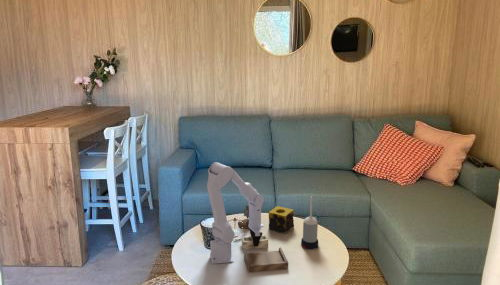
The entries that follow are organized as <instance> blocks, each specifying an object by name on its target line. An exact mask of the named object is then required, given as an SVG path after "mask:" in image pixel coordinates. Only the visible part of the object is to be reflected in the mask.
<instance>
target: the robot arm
mask: <svg viewBox="0 0 500 285" xmlns="http://www.w3.org/2000/svg"><path fill="white" fill-rule="evenodd" d="M207 172H208V177H207V178H208V179H207V182H206V184H207V185H206V188H207V194H208V197H209V202H210V207H211V211H212V217H213V220H214V221H213V222H212V223H211V227H212V228H211V234H212V236H214V239H213V240H210V243H209V244H210V254H209V255H210V260H211V264H213V265H215V264H225V263H233V262H234V258H233V253H232V242H233V240H234V239H235V231H234V229H233V228H232V225H231V224H230V223H229V221H228V220H227V214H226V208H225V204H224V203H225V202H224V199H223V195H222V194H223V193H222V188H223V187H224V186H226V185H227V184H228V182H230V181H231V182H232V183H233V184H235V186H237V188H238V191H239V193H240V194H241V195H242V196H243V197H244V198H245V200H246V202H248V203H249V205H248V206H249V218H248V219H249V226H248V228H249V229H248V230H249V234H250V236H252V239H253V245H254V246H258V245H259V241H260V238H261V236H262V235H263V232H262V231H261V230H262V228H263V227H264V224H263V223H262V208H263V203H264V201H265V198H264V196H263V195H262V194H260V193H259V192H258V190H257V189H256V188H254V187H253V184H252V183H251V182H245V181H244V180H243V179H242V177H240V176H239V174H238V173H237V172H236V170H235V169H233V168H232V167H231V166H229V165H228V166H227V165H225V164H223V163H220V162H218V161H215V162H213V163H211V165H210V166H209V168H208V169H207Z"/></svg>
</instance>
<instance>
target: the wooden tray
mask: <svg viewBox="0 0 500 285" xmlns="http://www.w3.org/2000/svg"><path fill="white" fill-rule="evenodd" d="M247 250H248V249H245V250H244V252H243V256H244V260H245V264H246V267H247V271H248V273H250V274H251V273H258V272H259V273H260V272H270V271H281V270H289V261H288V258H287V257H286V255H285V253H284V251H283V249H282V247H278V250H272V251H260V252H248V251H247Z"/></svg>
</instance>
